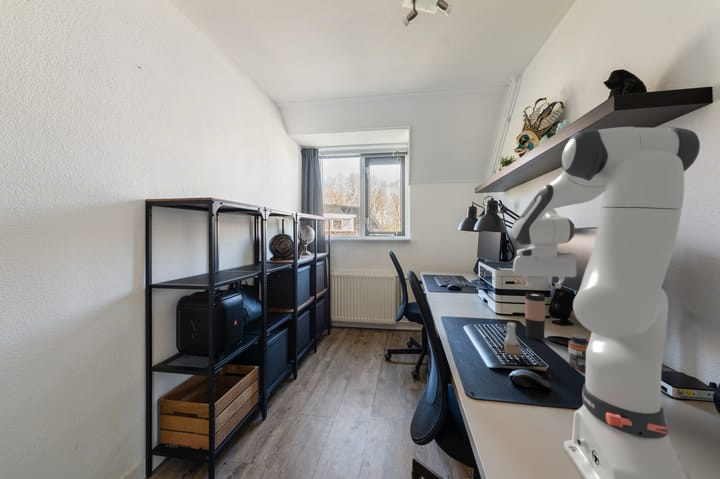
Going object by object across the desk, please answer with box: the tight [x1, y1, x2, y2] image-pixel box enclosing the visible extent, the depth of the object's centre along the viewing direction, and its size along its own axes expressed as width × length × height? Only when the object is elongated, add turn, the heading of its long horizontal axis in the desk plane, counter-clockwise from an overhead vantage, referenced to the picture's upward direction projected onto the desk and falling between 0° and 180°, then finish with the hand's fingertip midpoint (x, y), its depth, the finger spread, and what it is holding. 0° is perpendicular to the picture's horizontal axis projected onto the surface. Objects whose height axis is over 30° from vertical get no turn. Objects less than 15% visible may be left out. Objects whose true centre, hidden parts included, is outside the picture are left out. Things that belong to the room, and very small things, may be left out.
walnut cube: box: [503, 339, 522, 357], centre depth 102 cm, size 5×5×5 cm
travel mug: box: [524, 291, 546, 341], centre depth 122 cm, size 8×8×20 cm
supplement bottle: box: [568, 333, 589, 372], centre depth 94 cm, size 6×6×11 cm
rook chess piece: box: [504, 321, 519, 346], centre depth 102 cm, size 4×4×8 cm
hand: (542, 287), depth 102 cm, fingers open, 8 cm apart
